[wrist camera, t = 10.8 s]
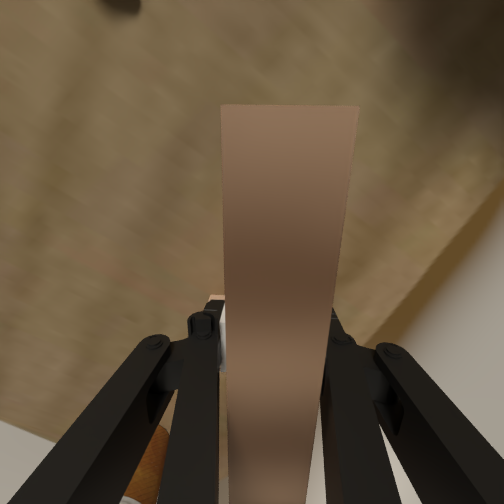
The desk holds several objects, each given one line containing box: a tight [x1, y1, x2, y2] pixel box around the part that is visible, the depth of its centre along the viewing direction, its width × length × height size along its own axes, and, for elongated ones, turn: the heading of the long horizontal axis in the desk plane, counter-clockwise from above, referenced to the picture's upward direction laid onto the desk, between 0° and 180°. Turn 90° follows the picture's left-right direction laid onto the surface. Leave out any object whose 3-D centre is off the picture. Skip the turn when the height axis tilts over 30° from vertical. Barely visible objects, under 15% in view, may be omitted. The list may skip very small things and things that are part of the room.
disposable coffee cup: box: [119, 425, 169, 504], centre depth 35 cm, size 10×10×12 cm
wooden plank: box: [221, 105, 360, 504], centre depth 13 cm, size 18×3×10 cm, turn 179°
